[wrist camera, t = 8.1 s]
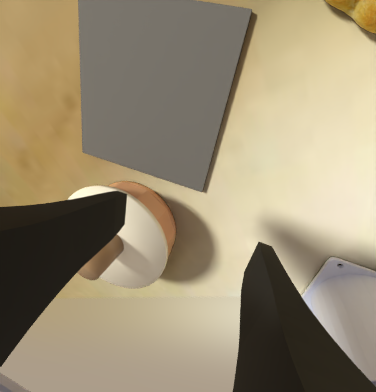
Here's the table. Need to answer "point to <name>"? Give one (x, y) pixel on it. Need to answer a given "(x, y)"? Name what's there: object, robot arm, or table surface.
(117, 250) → the lid
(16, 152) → the table surface
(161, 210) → the bowl
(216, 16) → the mat
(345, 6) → the bread roll
